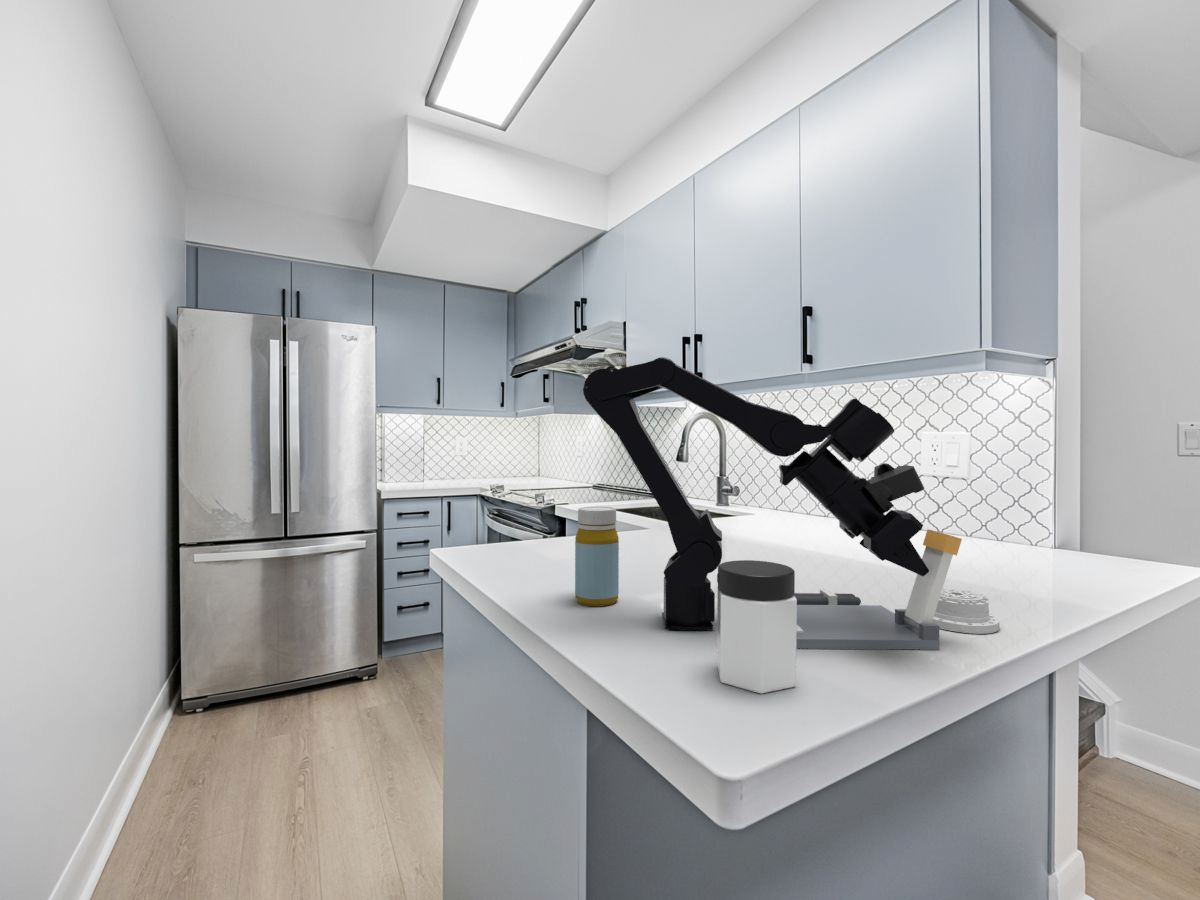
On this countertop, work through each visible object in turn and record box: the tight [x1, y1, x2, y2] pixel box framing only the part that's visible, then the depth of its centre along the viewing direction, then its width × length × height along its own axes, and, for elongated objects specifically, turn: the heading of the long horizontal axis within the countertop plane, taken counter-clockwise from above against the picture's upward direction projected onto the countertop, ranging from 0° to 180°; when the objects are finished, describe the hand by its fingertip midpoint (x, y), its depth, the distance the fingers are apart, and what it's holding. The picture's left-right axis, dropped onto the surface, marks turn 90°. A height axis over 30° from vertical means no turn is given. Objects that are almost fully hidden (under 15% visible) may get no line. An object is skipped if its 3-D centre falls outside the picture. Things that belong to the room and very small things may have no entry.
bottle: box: [574, 506, 620, 607], centre depth 91 cm, size 7×7×15 cm
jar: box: [716, 559, 797, 694], centre depth 62 cm, size 9×8×12 cm
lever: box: [904, 529, 963, 631], centre depth 73 cm, size 2×5×13 cm, turn 179°
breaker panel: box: [796, 604, 941, 651], centre depth 77 cm, size 21×15×3 cm
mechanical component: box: [932, 587, 1000, 635], centre depth 80 cm, size 10×4×10 cm
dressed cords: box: [794, 588, 862, 605], centre depth 90 cm, size 19×4×2 cm, turn 89°
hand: (923, 572), depth 73 cm, fingers closed
